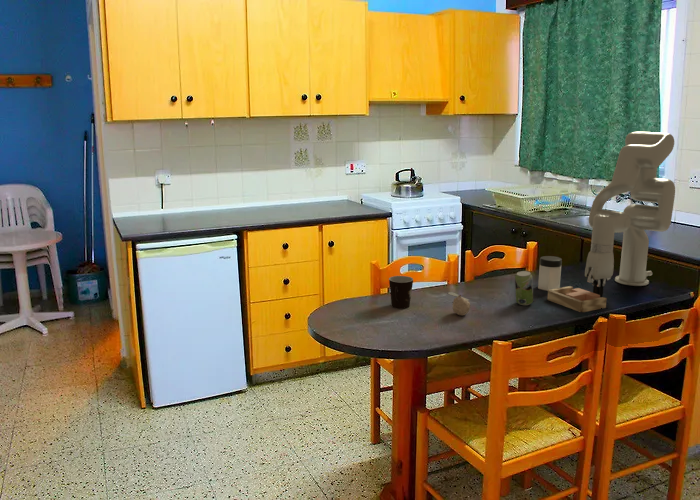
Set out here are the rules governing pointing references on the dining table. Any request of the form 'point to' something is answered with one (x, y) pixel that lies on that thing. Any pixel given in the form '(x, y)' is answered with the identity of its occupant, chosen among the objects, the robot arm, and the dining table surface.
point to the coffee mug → (400, 291)
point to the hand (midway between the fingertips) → (597, 296)
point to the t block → (582, 294)
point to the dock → (574, 300)
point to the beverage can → (524, 288)
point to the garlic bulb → (460, 305)
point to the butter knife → (455, 295)
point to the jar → (549, 272)
